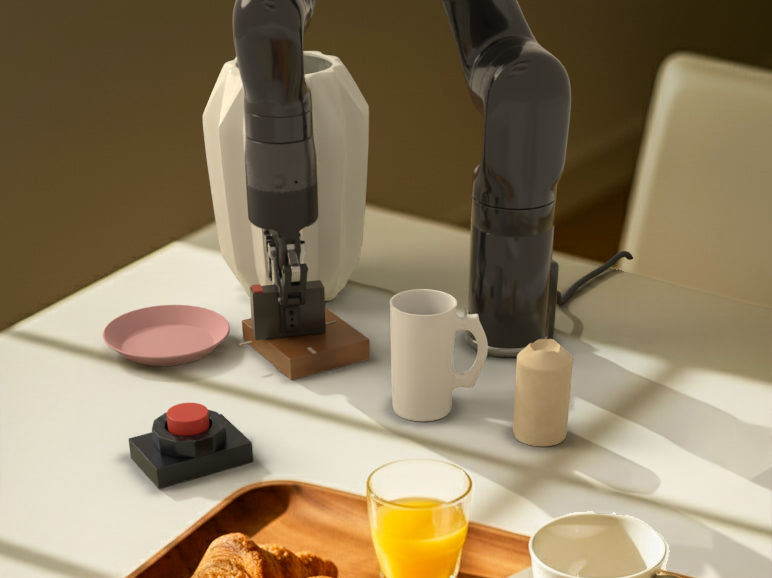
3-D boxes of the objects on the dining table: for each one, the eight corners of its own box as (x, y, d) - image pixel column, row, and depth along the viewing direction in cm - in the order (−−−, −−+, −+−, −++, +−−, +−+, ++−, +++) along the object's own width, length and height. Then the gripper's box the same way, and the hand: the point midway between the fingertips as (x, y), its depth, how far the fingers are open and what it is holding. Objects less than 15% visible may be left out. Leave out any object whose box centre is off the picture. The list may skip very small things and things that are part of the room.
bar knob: (321, 325, 153) (320, 277, 150) (326, 333, 152) (324, 285, 148) (252, 332, 152) (249, 284, 148) (255, 340, 150) (252, 292, 147)
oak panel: (318, 321, 160) (317, 300, 159) (370, 359, 152) (370, 338, 150) (218, 345, 155) (216, 324, 153) (266, 387, 146) (264, 364, 145)
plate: (83, 365, 150) (81, 348, 149) (135, 314, 162) (133, 299, 160) (204, 379, 147) (202, 363, 146) (248, 327, 159) (247, 311, 158)
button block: (222, 432, 137) (220, 397, 135) (253, 462, 132) (251, 426, 130) (130, 457, 133) (126, 422, 131) (158, 489, 128) (154, 452, 126)
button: (199, 414, 133) (197, 398, 132) (216, 431, 130) (215, 415, 129) (161, 424, 131) (159, 408, 130) (178, 441, 128) (176, 425, 127)
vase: (404, 291, 168) (405, 64, 153) (282, 336, 157) (270, 96, 142) (305, 249, 180) (296, 34, 164) (184, 287, 169) (163, 61, 153)
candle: (563, 449, 135) (570, 358, 129) (509, 444, 136) (514, 353, 130) (569, 424, 139) (576, 335, 134) (516, 418, 140) (521, 330, 135)
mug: (385, 421, 140) (385, 313, 133) (393, 391, 145) (393, 287, 139) (482, 427, 139) (487, 319, 132) (486, 397, 144) (491, 292, 138)
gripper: (330, 195, 137) (334, 351, 147) (304, 154, 148) (309, 302, 158) (256, 201, 135) (266, 358, 145) (236, 159, 147) (245, 308, 156)
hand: (288, 328), depth 151 cm, fingers closed on bar knob, 2 cm apart
